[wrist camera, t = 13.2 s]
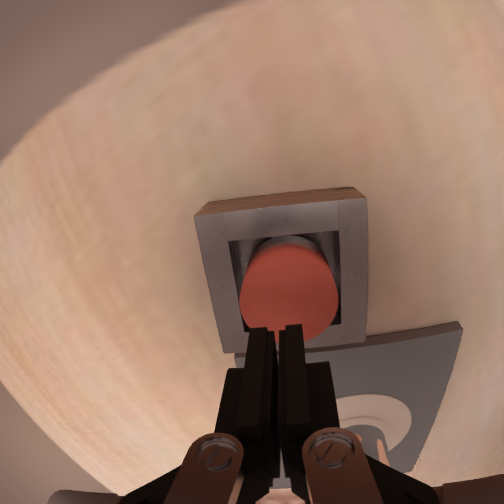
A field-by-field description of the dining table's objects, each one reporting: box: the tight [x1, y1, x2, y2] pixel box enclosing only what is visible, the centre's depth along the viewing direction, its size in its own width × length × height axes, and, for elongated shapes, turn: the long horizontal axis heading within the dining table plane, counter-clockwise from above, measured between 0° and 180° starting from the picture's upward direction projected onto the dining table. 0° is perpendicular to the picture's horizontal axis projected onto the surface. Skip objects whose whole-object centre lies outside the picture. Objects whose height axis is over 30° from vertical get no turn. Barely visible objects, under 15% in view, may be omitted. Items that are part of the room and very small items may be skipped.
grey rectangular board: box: [234, 322, 463, 489], centre depth 23 cm, size 20×16×1 cm
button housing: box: [194, 187, 368, 353], centre depth 17 cm, size 8×8×3 cm
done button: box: [239, 235, 338, 343], centre depth 15 cm, size 4×4×3 cm
